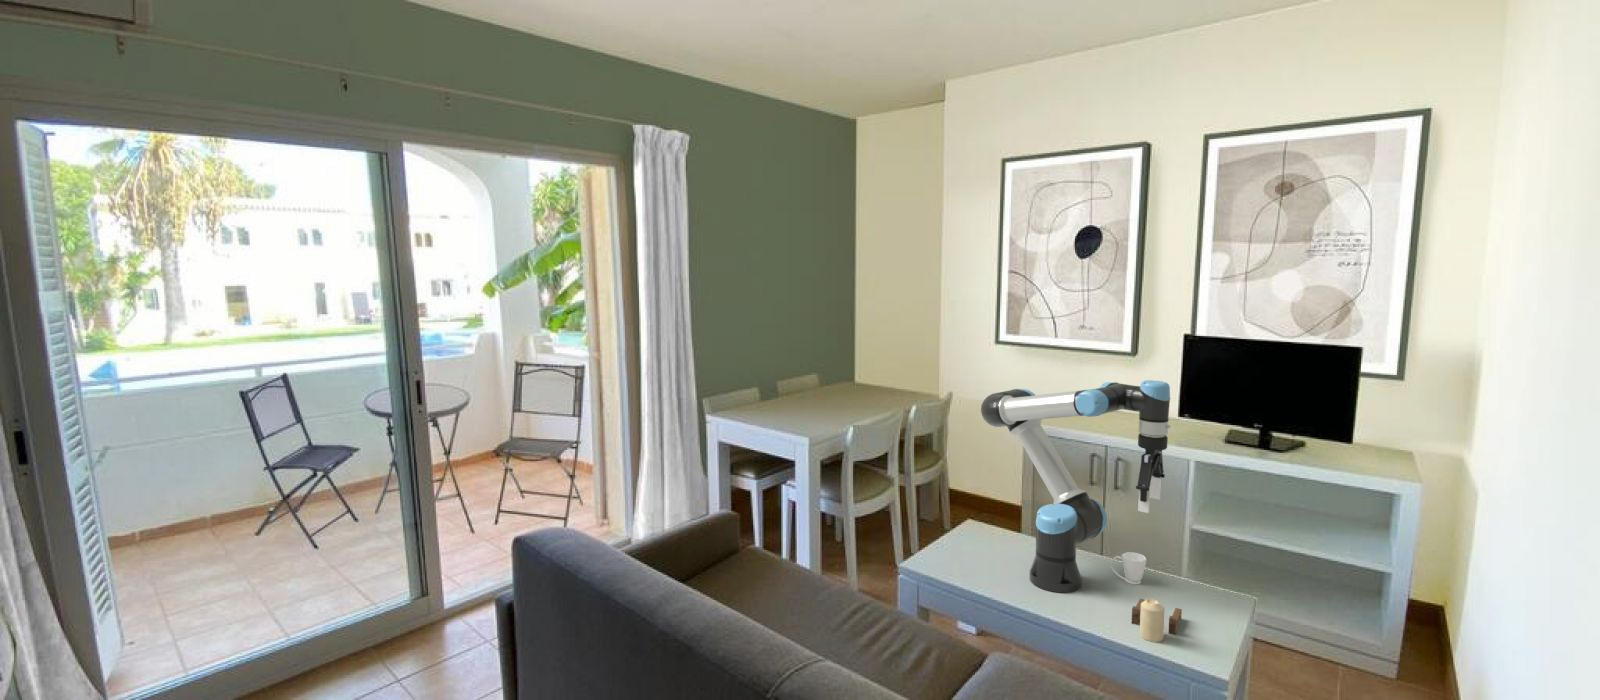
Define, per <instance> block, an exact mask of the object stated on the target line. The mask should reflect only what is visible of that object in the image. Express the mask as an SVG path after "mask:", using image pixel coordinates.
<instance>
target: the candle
mask: <svg viewBox="0 0 1600 700" xmlns="http://www.w3.org/2000/svg"><path fill="white" fill-rule="evenodd" d="M1144 600H1145V601H1143V602H1142V603H1141V612H1140V621H1139V636H1140V638H1142V639H1144V640H1145V641H1149V642H1151V643H1159V642H1162V641H1163V640H1164V631H1165V630H1164V627H1165V625H1164V624H1165V607H1164V605H1163V604H1161V603H1160V602H1159V601H1158V600H1156V599H1155V598H1147V599H1144Z"/></svg>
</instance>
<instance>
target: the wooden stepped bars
mask: <svg viewBox="0 0 1600 700" xmlns="http://www.w3.org/2000/svg"><path fill="white" fill-rule="evenodd" d="M1145 600H1146V599H1143V598H1139V599H1138V602H1137V603H1136V604H1135V605H1133V606H1132V609H1131V624H1132V625H1136V626H1138V625H1139V624H1140V612H1141V603H1142V602H1143V601H1145ZM1182 611H1183V609H1182V608H1178V607H1175V608H1174V611H1173V612H1172V615H1169V618H1168V635H1173V636H1175V635H1176V633H1177V631H1178V628H1179V626H1180V623H1181V621H1182V615H1183V614H1182Z"/></svg>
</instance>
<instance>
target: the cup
mask: <svg viewBox="0 0 1600 700" xmlns="http://www.w3.org/2000/svg"><path fill="white" fill-rule="evenodd" d="M1115 559H1119V560H1122V567H1123V572H1124V575H1125V577H1124V576H1122V575H1120V573H1118V572H1117V571H1116V570H1115V569H1114V567H1113V561H1114V560H1115ZM1146 564H1147V558H1146V556H1145V554H1141V553H1138V552H1132V551H1126V552H1124V553H1121V556H1120V555H1115V556H1114V557H1113V558H1112V559H1111V562H1110V569H1111V571H1112V572H1113V573H1114V574H1115V575H1116V576H1117V577H1118V578H1120V579H1122V580H1124V581H1125V582H1127V583H1129V584H1132V585H1140V584H1141V583H1142V579H1143V576H1144V573H1145V569H1146Z"/></svg>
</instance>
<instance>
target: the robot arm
mask: <svg viewBox="0 0 1600 700" xmlns="http://www.w3.org/2000/svg"><path fill="white" fill-rule="evenodd" d="M1170 390H1171V387H1170V384H1169V382H1167V381H1162V380H1152V379H1148V380H1143V381H1141V383H1140V385H1139V386H1138V385H1133V384H1132V385H1131V384H1125V383H1119V382H1117V381H1116V382H1110V381H1109V382H1108V381H1106V382H1103V383H1102V384H1101V385H1100V386H1099V387H1098V388H1093V389H1092V388H1091V389H1084V390H1074V391H1073V390H1072V391H1064V392H1063V391H1062V392H1055V393H1048V394H1047V393H1045V394H1036V393H1034V392H1032V391H1031V390H1029V389H1025V388H1014V389H1013V388H1012V389H1011V390H1006V391H1000V392H993V393H991V394H989V395H988V396H986V397H985V398H984V400H982V401H983V402H982V403H981V407H980V413H981V416H982V419H983V420H984V421H985V422H986V423H987V424H988V425H989V426H992V427H996V428H1001V427H1002V428H1003V427H1006V428H1007V429H1008V430H1009V432H1010V434H1011V435H1014V436H1017V437H1018V439H1019V441H1020V442H1021V445H1022V446H1023V448H1024V450H1025V452H1026V453H1027V455H1028V457H1029V459H1030V460H1031V462H1032V464H1033V465H1034V467H1035V469H1036V470H1037V473H1038V474H1039V476H1040V478H1041V479H1042V482H1043V483H1044V485H1045V486H1046V488H1047V490H1048V492H1049V494H1050V495H1051V497H1052V499H1053V504H1052V503H1049V504H1046V505H1043V506H1041V507H1040V508H1039V509H1038V510H1037V512H1036V518H1035V519H1036V520H1035V556H1034V558H1033V561H1032V564H1031V566H1030V569H1029V581H1030V582H1031V583H1032V585H1034V586H1035V587H1037V588H1040V589H1042V590H1045V591H1049V592H1052V593H1053V592H1055V593H1070V592H1075V591H1077V590H1079V589H1080V588H1081V586H1082V576H1081V573H1080V570H1079V566H1078V563H1077V561H1076V560H1077V559H1076V557H1077V556H1076V554H1077V545H1078V544H1080V543H1081V544H1082V543H1083V542H1086V541H1088V540H1091V539H1094V538H1095V537H1098V536H1099V535H1100V534H1101V533H1103V532H1104V531H1105V529H1106V527H1107V524H1108V515H1107V512H1106V509H1105V507H1104V506H1103V504H1102V503H1101V502H1099V501H1098V500H1095V498H1094V499H1093V498H1090V496H1089V495H1088V493H1087V491H1086V490H1084V489H1080V488H1079V487H1078V485H1077V484H1076V482H1075V480H1074V478H1073V477H1072V475H1071V474H1070V471H1068V469H1067V467H1066V465H1065V463H1064V461H1063V460H1062V459H1061V457H1060V455H1059V453H1058V452H1057V450H1056V448H1055V446H1054V445H1053V443H1052V441H1051V440H1050V437H1048V434H1047V433H1046V431H1045V429H1044V428H1043V426H1042V420H1045V419H1059V418H1071V417H1087V418H1088V417H1089V418H1090V417H1091V418H1092V417H1099V416H1101V415H1104V414H1108V413H1113V412H1115V411H1116V412H1117V411H1119V410H1123V411H1125V410H1126V411H1130V412H1137V413H1139V414H1138V415H1139V417H1138V430H1137V431H1138V436H1137V446H1138V447H1139V448H1141V449H1144V450H1145V452H1144V453H1143V454H1142V455H1141V457H1140V459H1141V460H1140V468H1139V475H1138V481H1137V485H1136V486H1135V489H1136V490H1138V504H1137V506H1138V507H1137V512H1141V513H1146V514H1149V513H1150V500H1151V499H1154V500H1158V501H1160V500H1161V496H1162V495H1161V494H1162V493H1161V491H1162V479H1163V478H1165V473H1164V472H1165V471H1164V462H1163V451H1165V450H1166V449H1168V440H1169V439H1168V433H1169V429H1171V425H1170V424H1169V421H1170V420H1169V419H1170V418H1169V417H1170V416H1169V415H1170V401H1171V391H1170Z"/></svg>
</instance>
